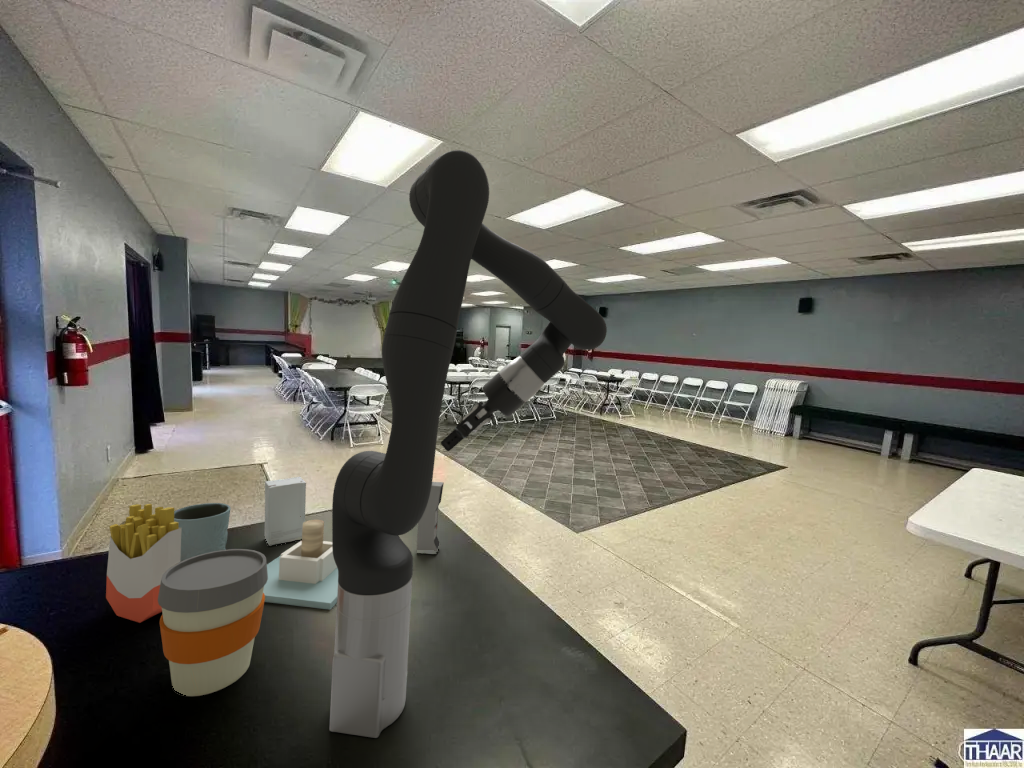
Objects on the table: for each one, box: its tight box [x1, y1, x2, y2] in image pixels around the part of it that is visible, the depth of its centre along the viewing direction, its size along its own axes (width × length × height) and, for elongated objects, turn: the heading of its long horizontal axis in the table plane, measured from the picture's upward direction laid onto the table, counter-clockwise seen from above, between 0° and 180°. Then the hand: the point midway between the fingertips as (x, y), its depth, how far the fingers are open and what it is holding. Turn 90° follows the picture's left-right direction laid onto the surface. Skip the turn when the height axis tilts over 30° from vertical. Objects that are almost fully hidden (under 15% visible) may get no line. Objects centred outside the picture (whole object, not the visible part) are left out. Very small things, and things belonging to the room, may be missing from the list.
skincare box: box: [264, 476, 307, 545], centre depth 102 cm, size 8×6×15 cm
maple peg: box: [301, 519, 325, 558], centre depth 86 cm, size 4×4×10 cm
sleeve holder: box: [263, 540, 338, 610], centre depth 86 cm, size 20×20×6 cm
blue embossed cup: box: [174, 502, 232, 562], centre depth 87 cm, size 10×10×12 cm
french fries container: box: [105, 503, 182, 624], centre depth 70 cm, size 5×11×18 cm, turn 74°
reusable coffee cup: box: [158, 548, 268, 697], centre depth 58 cm, size 12×13×15 cm
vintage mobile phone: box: [416, 481, 444, 551], centre depth 100 cm, size 4×5×25 cm
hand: (449, 442), depth 78 cm, fingers open, 8 cm apart
